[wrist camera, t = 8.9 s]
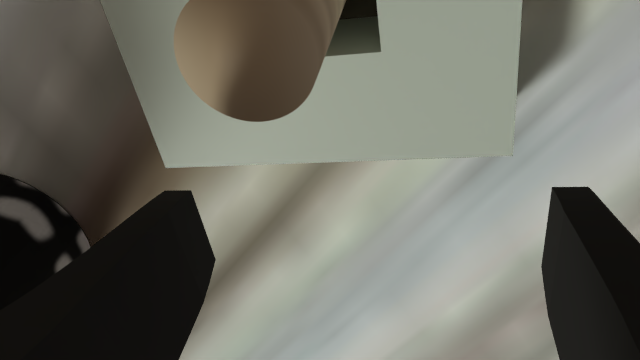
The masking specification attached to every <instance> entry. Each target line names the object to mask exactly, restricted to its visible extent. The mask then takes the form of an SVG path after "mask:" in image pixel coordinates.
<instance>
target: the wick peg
mask: <svg viewBox="0 0 640 360" xmlns="http://www.w3.org/2000/svg"><path fill="white" fill-rule="evenodd" d="M345 2H346V0H189V1H188V2H187V3H186V5H185V6H184V8H183V9H182V11H181V13H180V15H179V17H178V19H177V22H176V26H175V30H174V52H175V57H176V61H177V64H178V66H179V69H180V71H181V73H182V75H183V77H184V79H185V81H186V82H187V84H188V85H189V87H190V88H191V89H192V90H193V91H194V93H195V94H196V95H197V96H198V97H199V98H200V99H201V100H202V101H204V102H205V103H206V104H208V105H209V106H210V107H212V108H213V109H215V110H217V111H218V112H220V113H222V114H224V115H226V116H229V117H232V118H235V119H239V120H243V121H250V122H264V121H271V120H275V119H279V118H281V117H284V116H286V115H288V114H290V113H291V112H293V111H294V110H296V109H297V108H298V107H299V106H300V105H301V104H302V103H303V102H304V101H305V100H306V99H307V97H308V96H309V94H310V93H311V91H312V89H313V87H314V84H315V81H316V79H317V76H318V74H319V71H320V68H321V66H322V63H323V60H324V58H325V55H326V52H327V50H328V47H329V45H330V42H331V39H332V37H333V34H334V31H335V29H336V26H337V24H338V21H339V18H340V16H341V13H342V10H343V8H344V5H345Z"/></svg>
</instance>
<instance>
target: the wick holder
mask: <svg viewBox="0 0 640 360" xmlns="http://www.w3.org/2000/svg"><path fill="white" fill-rule="evenodd" d="M188 1H189V0H100V2H101V4H102V7H103V10H104V12H105V15H106V17H107V20H108V22H109V25H110V27H111V30H112V32H113V35H114V37H115V40H116V43H117V45H118V48H119V50H120V53H121V55H122V58H123V60H124V63H125V65H126V68H127V71H128V73H129V76H130V78H131V81H132V83H133V86H134V88H135V91H136V93H137V96H138V99H139V101H140V104H141V106H142V109H143V111H144V114H145V116H146V119H147V121H148V124H149V126H150V129H151V132H152V134H153V137H154V139H155V142H156V144H157V147H158V149H159V152H160V154H161V157H162V160H163V162H164V165H165V167H166V168H178V167H207V166H235V165H264V164H292V163H321V162H349V161H378V160H406V159H435V158H463V157H492V156H513V145H514V129H515V113H516V96H517V80H518V64H519V48H520V32H521V15H522V0H376V2H377V13H378V16H373V17H363V18H352V19H342V20H339V21H338V24H337V26H336V29H335V31H334V34H333V37H332V39H331V42H330V45H329V47H328V50H327V52H326V55H325V58H324V60H323V63H322V66H321V68H320V71H319V74H318V76H317V79H316V81H315V84H314V87H313V89H312V91H311V93H310V94H309V96H308V97H307V99H306V100H305V101H304V102H303V103H302V104H301V105H300V106H299V107H298V108H297V109H296V110H294V111H293V112H291V113H290V114H288V115H286V116H284V117H281V118H279V119H275V120H271V121H264V122H250V121H243V120H239V119H235V118H232V117H229V116H226V115H224V114H222V113H220V112H218V111H217V110H215V109H213V108H212V107H210V106H209V105H208V104H206V103H205V102H204V101H202V100H201V99H200V98H199V97H198V96H197V95H196V94H195V93H194V91H193V90H192V89H191V88H190V87H189V85H188V84H187V82H186V81H185V79H184V77H183V75H182V73H181V71H180V69H179V66H178V64H177V61H176V57H175V52H174V30H175V26H176V22H177V19H178V17H179V15H180V13H181V11H182V9H183V8H184V6H185V5H186V3H187V2H188Z"/></svg>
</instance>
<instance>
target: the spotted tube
mask: <svg viewBox="0 0 640 360" xmlns="http://www.w3.org/2000/svg"><path fill="white" fill-rule="evenodd" d="M89 248H90V245H89V242H88V240H87V238H86V236H85V234H84V233H83V231H82V229H81V228H80V226H79V225H78V224H77V223H76V221H75V220H74V219H73V218H72V217H71V216H70V215H69V214H68V213H67V212H66V211H65V210H64V209H63V208H62V207H61V206H60V205H59V204H57V203H56V202H55V201H53V200H52V199H51V198H49V197H48V196H47V195H45V194H44V193H42V192H40V191H38V190H37V189H35V188H33V187H32V186H30V185H28V184H25V183H23V182H21V181H18V180H16V179H14V178H11V177H7V176H4V175H0V310H1V309H3V308H5V307H6V306H8V305H9V304H11V303H13V302H14V301H16V300H17V299H19V298H20V297H22V296H24V295H25V294H27V293H28V292H30V291H31V290H33V289H34V288H36V287H37V286H38V285H40V284H41V283H43V282H44V281H45V280H47V279H48V278H50V277H51V276H52V275H54V274H55V273H57V272H58V271H59V270H61V269H62V268H63V267H65V266H66V265H68V264H69V263H70V262H72V261H73V260H74V259H76V258H77V257H79V256H80V255H81V254H83V253H84V252H85V251H87V250H88V249H89Z"/></svg>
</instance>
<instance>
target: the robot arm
mask: <svg viewBox="0 0 640 360" xmlns="http://www.w3.org/2000/svg"><path fill="white" fill-rule="evenodd" d="M214 263H215V257H214V254H213V251H212V248H211V245H210V243H209V240H208V237H207V234H206V231H205V229H204V226H203V223H202V220H201V217H200V215H199V212H198V209H197V206H196V203H195V201H194V198H193V195H192V192H191V191H164V192H162V193H161V194H160V195H158V196H157V197H155V198H154V199H152V200H151V201H150V202H148V203H147V204H146V205H144V206H143V207H142V208H140V209H139V210H138V211H137V212H135V213H134V214H133V215H131V216H130V217H129V218H128V219H126V220H125V221H124V222H123V223H121V224H120V225H119V226H118V227H116V228H115V229H114V230H112V231H111V232H110V233H109V234H107V235H106V236H105V237H103V238H102V239H101V240H100V241H98V242H97V243H96V244H94V245H93V246H92V247H91V248H89V249H88V250H87V251H85V252H84V253H83V254H81V255H80V256H79V257H77V258H76V259H74V260H73V261H72V262H70V263H69V264H68V265H66V266H65V267H63V268H62V269H61V270H59V271H58V272H57V273H55V274H54V275H52V276H51V277H50V278H48V279H47V280H45V281H44V282H43V283H41V284H40V285H38V286H37V287H36V288H34V289H33V290H31V291H30V292H28V293H27V294H25V295H24V296H22V297H20V298H19V299H17V300H16V301H14V302H13V303H11V304H9V305H8V306H6V307H5V308H3V309H1V310H0V360H179V358H180V355H181V353H182V351H183V349H184V346H185V344H186V342H187V340H188V337H189V335H190V333H191V330H192V328H193V326H194V323H195V321H196V319H197V316H198V314H199V312H200V309H201V307H202V305H203V302H204V299H205V296H206V293H207V289H208V286H209V283H210V279H211V275H212V271H213V267H214ZM541 267H542V275H543V282H544V290H545V297H546V304H547V311H548V317H549V321H550V325H551V329H552V332H553V336H554V340H555V344H556V347H557V351H558V355H559V359H560V360H640V243H639V242H638V241H637V240H636V239H635V238H634V236H633V235H632V234H631V233H630V232H629V231H628V230H627V229H626V228H625V227H624V226H623V224H622V223H621V222H620V221H619V220H618V219H617V218H616V217H615V216H614V214H613V213H612V212H611V211H610V210H609V209H608V208H607V207H606V205H605V204H604V203H603V202H602V201H601V200H600V199H599V198H598V196H597V195H596V194H595V193H594V192H593V191H592V190H591V189H590V188H589V187H552V192H551V200H550V207H549V214H548V222H547V229H546V237H545V244H544V251H543V259H542V266H541Z"/></svg>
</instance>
